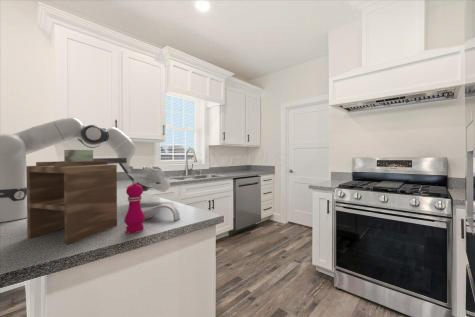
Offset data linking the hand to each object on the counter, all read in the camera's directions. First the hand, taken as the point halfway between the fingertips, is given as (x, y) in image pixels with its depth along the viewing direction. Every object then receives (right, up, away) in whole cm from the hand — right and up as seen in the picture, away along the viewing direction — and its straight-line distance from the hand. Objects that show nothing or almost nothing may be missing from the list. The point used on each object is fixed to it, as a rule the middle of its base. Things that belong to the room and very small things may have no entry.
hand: (136, 167), depth 115 cm
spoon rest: (+15, -24, -12) cm, 31 cm away
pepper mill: (+13, -24, -29) cm, 40 cm away
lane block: (-6, +2, -20) cm, 22 cm away
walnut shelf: (-9, -24, -31) cm, 40 cm away
